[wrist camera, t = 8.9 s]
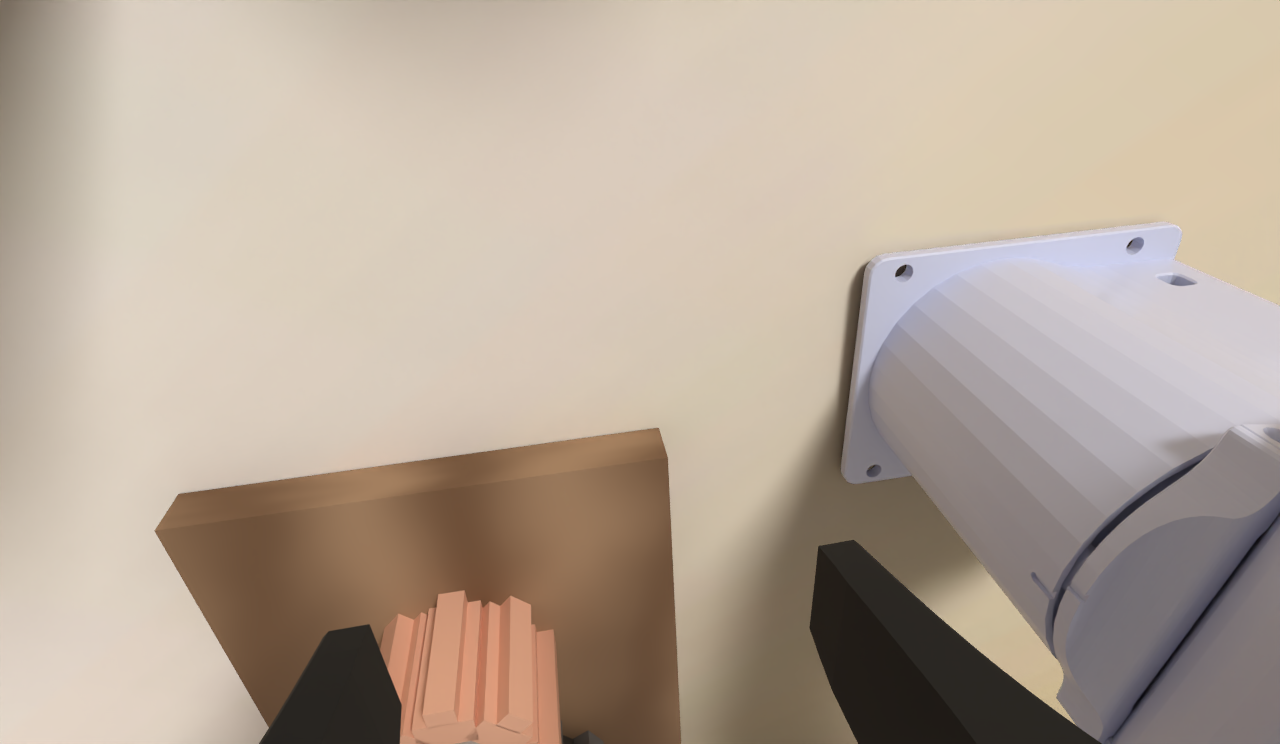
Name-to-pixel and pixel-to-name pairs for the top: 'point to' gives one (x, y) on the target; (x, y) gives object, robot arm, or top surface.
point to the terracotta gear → (474, 674)
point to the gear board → (454, 567)
